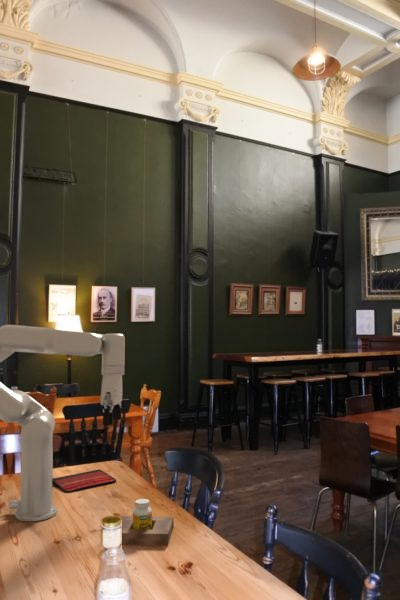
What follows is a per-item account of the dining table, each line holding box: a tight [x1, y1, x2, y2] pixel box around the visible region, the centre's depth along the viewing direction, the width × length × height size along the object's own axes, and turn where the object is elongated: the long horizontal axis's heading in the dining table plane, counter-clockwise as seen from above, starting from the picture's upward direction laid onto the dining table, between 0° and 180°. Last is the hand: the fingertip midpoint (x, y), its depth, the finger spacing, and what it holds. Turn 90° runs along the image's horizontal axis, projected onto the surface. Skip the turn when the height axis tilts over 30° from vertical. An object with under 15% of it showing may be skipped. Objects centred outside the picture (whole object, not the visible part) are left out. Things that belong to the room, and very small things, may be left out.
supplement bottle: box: [132, 498, 153, 530], centre depth 136 cm, size 5×5×10 cm
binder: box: [52, 469, 117, 494], centre depth 185 cm, size 16×2×21 cm
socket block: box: [119, 515, 175, 546], centre depth 136 cm, size 16×12×3 cm
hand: (112, 422), depth 159 cm, fingers open, 9 cm apart
